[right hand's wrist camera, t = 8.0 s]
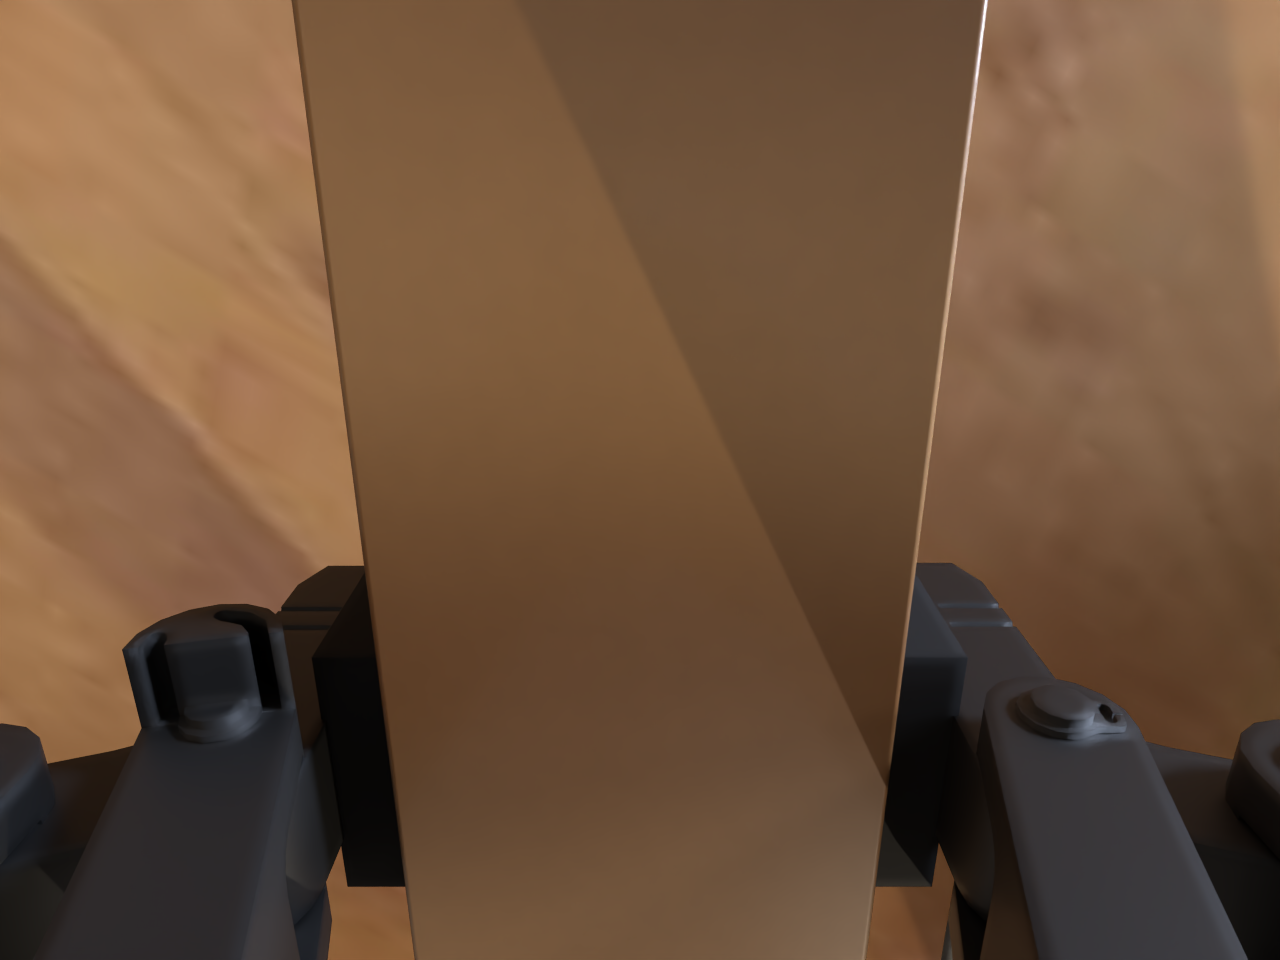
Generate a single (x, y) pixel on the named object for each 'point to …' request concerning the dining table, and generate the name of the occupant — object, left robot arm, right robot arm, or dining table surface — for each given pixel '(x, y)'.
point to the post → (640, 445)
